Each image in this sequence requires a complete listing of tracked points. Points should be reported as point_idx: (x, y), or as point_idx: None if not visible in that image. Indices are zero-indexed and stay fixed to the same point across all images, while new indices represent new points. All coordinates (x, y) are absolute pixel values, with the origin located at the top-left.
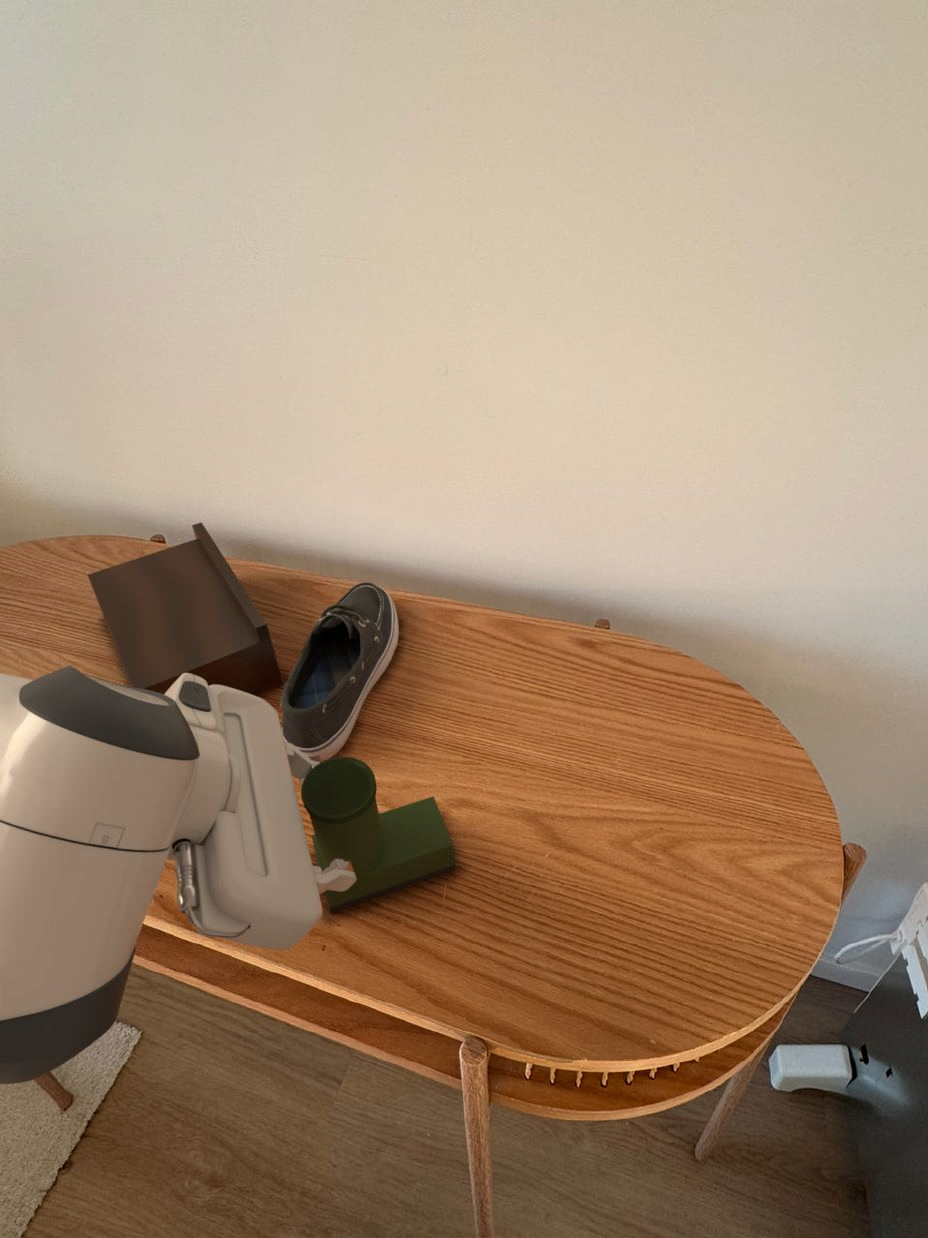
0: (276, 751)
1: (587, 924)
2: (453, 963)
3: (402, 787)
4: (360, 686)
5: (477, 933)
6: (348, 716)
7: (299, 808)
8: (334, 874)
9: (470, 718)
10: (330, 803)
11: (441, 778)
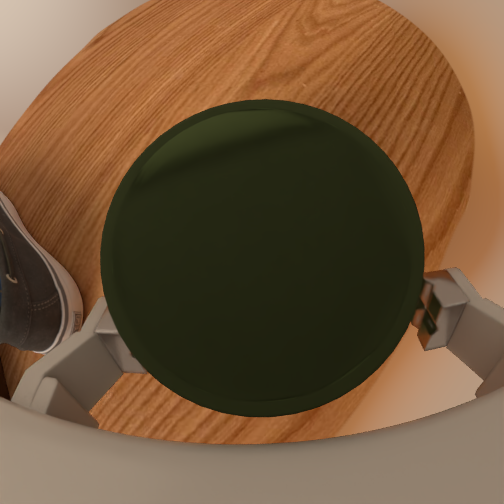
0: (31, 465)
1: (380, 83)
2: None
3: None
4: (13, 230)
5: None
6: (38, 255)
7: (355, 436)
8: (496, 309)
9: (104, 123)
10: (346, 287)
11: None
